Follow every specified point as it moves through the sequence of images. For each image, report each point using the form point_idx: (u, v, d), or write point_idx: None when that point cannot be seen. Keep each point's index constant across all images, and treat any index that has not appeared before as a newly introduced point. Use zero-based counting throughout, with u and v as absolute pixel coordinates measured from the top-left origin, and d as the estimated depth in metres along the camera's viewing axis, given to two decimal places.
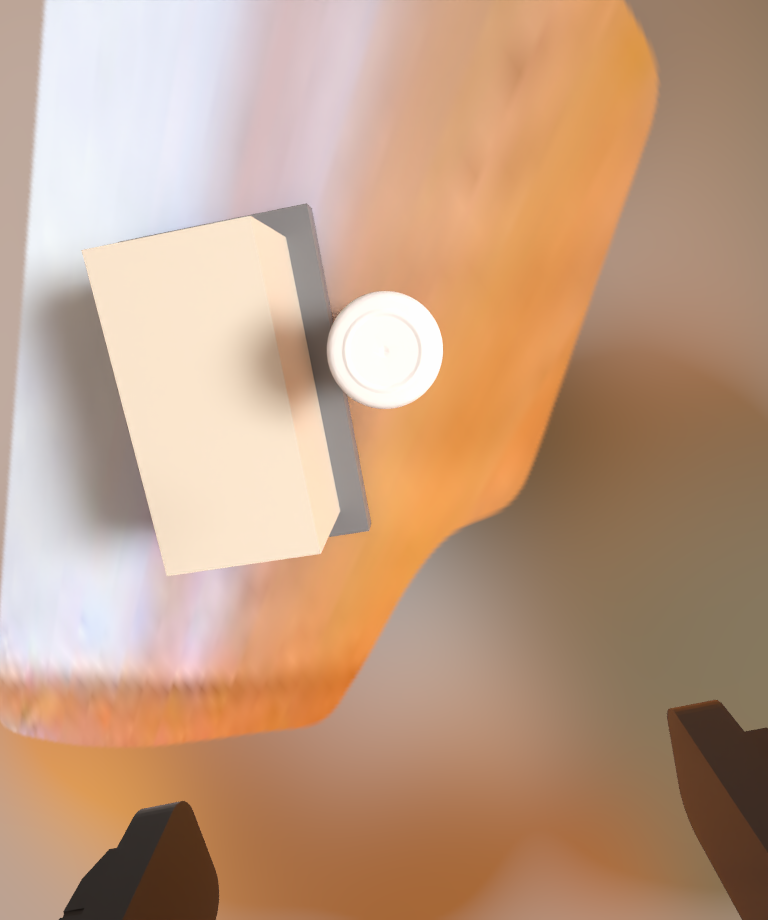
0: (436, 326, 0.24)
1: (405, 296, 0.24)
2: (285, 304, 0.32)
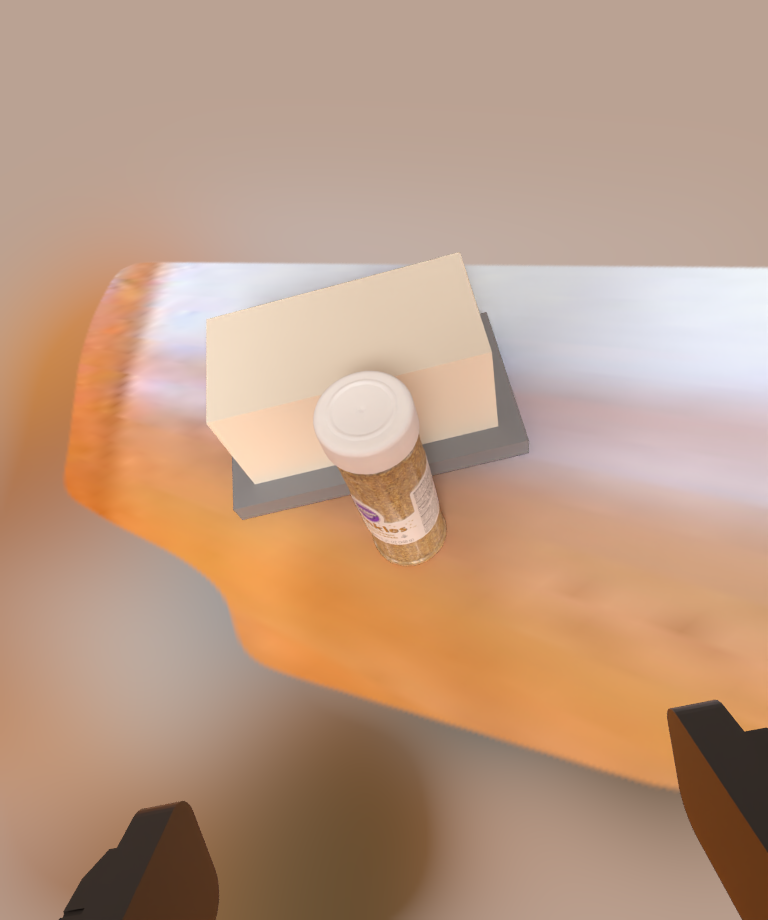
0: (382, 449, 0.26)
1: (408, 422, 0.27)
2: (431, 407, 0.37)
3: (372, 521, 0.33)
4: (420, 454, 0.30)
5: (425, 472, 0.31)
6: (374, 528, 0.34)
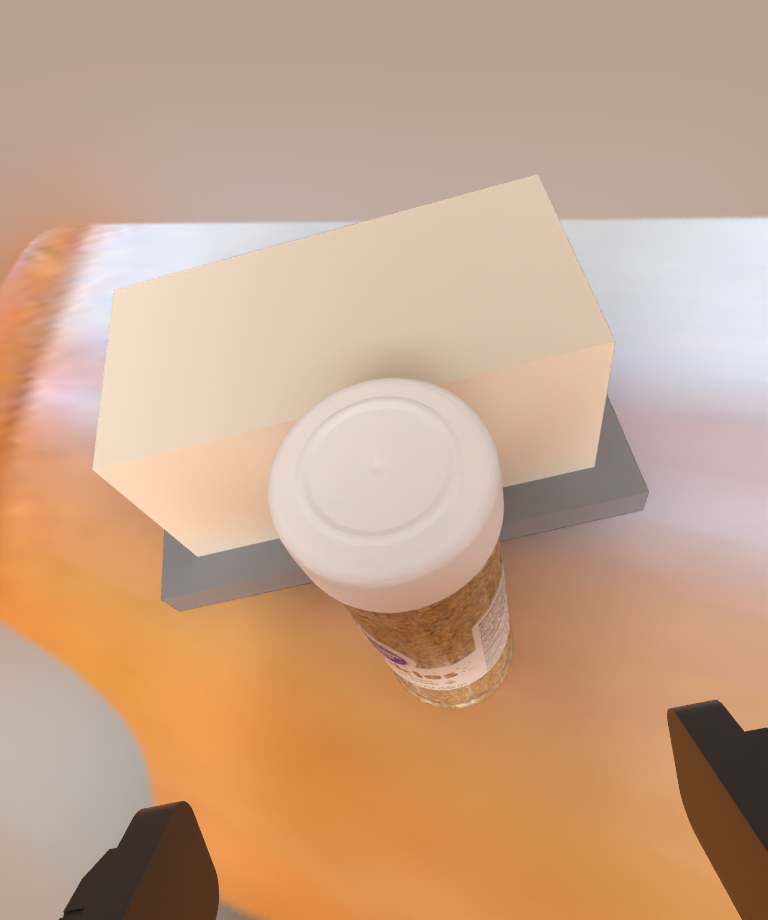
0: (429, 569, 0.11)
1: (490, 502, 0.11)
2: None
3: (392, 661, 0.17)
4: (497, 551, 0.14)
5: (501, 580, 0.15)
6: (395, 667, 0.18)
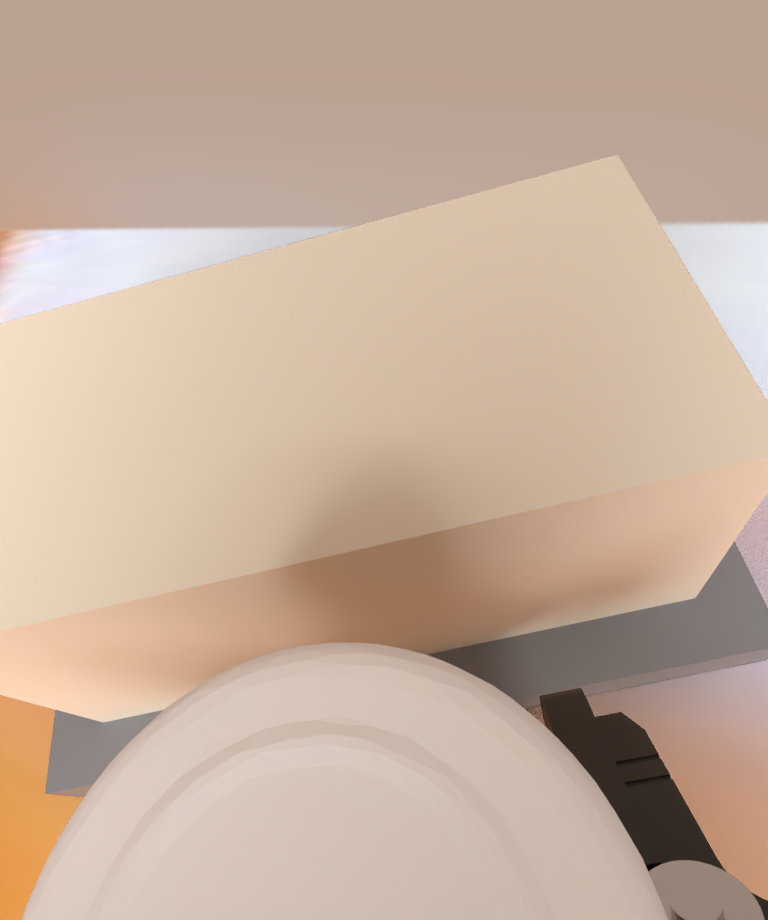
0: None
1: None
2: (549, 580, 0.13)
3: None
4: None
5: None
6: None
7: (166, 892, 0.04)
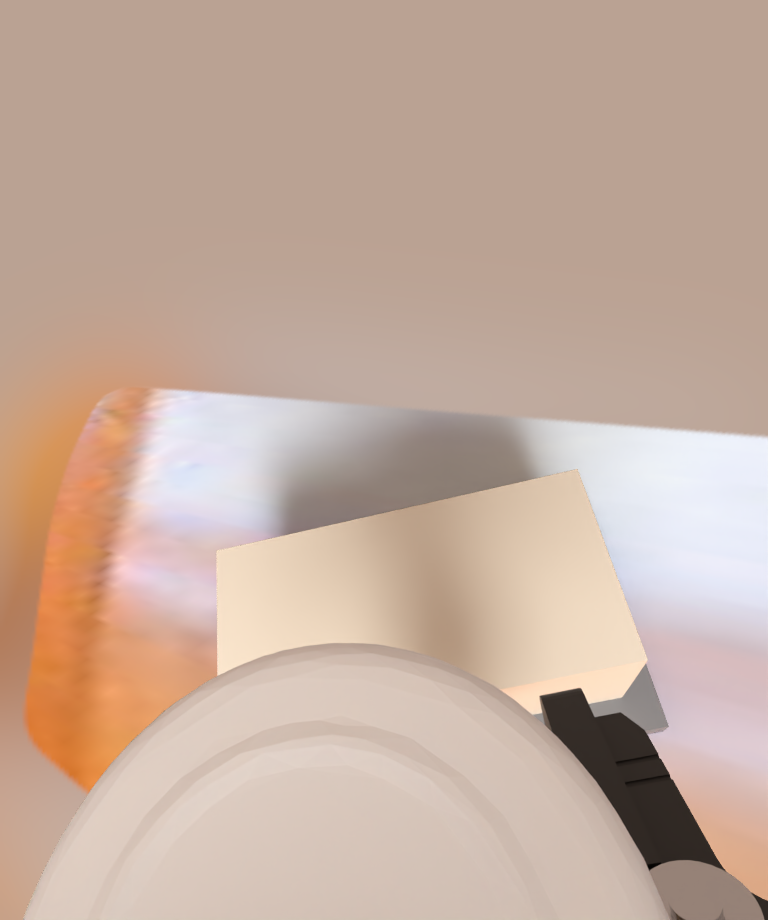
0: None
1: None
2: None
3: None
4: None
5: None
6: None
7: (168, 892, 0.04)
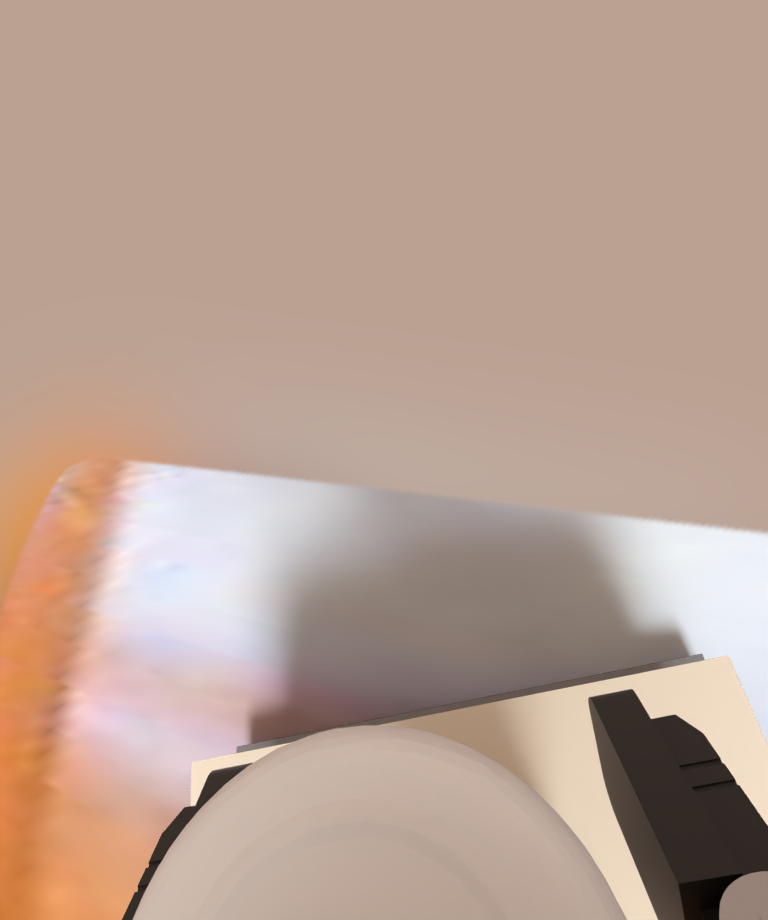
0: None
1: None
2: None
3: None
4: None
5: None
6: None
7: None
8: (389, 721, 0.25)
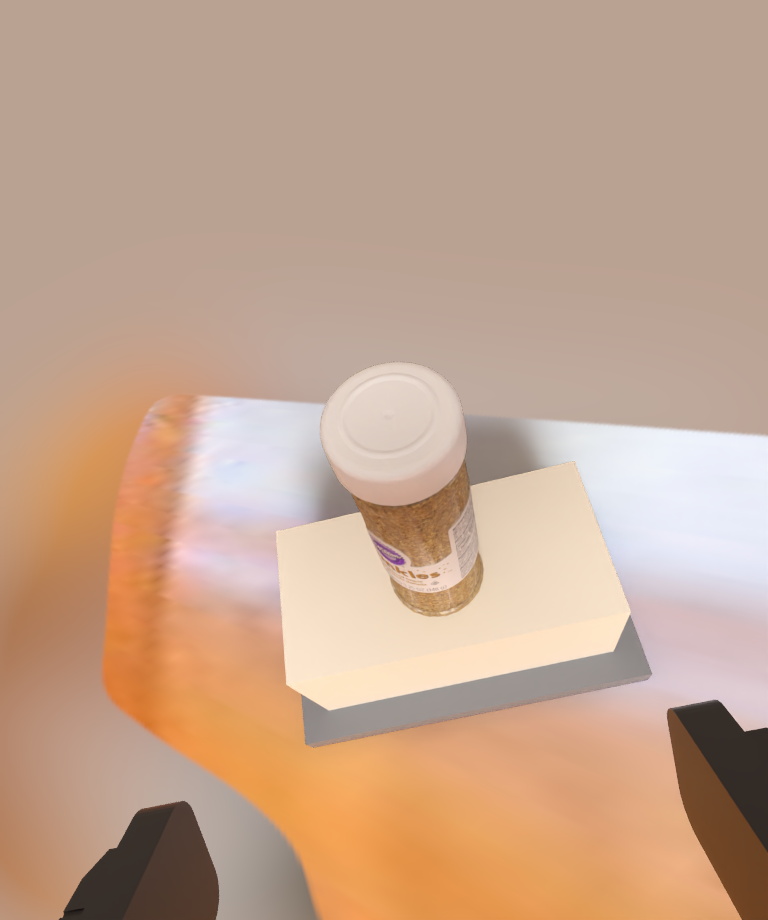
0: (419, 471, 0.18)
1: (456, 434, 0.19)
2: (545, 649, 0.31)
3: (394, 564, 0.25)
4: (464, 477, 0.22)
5: (468, 501, 0.23)
6: (396, 572, 0.26)
7: (357, 402, 0.20)
8: None
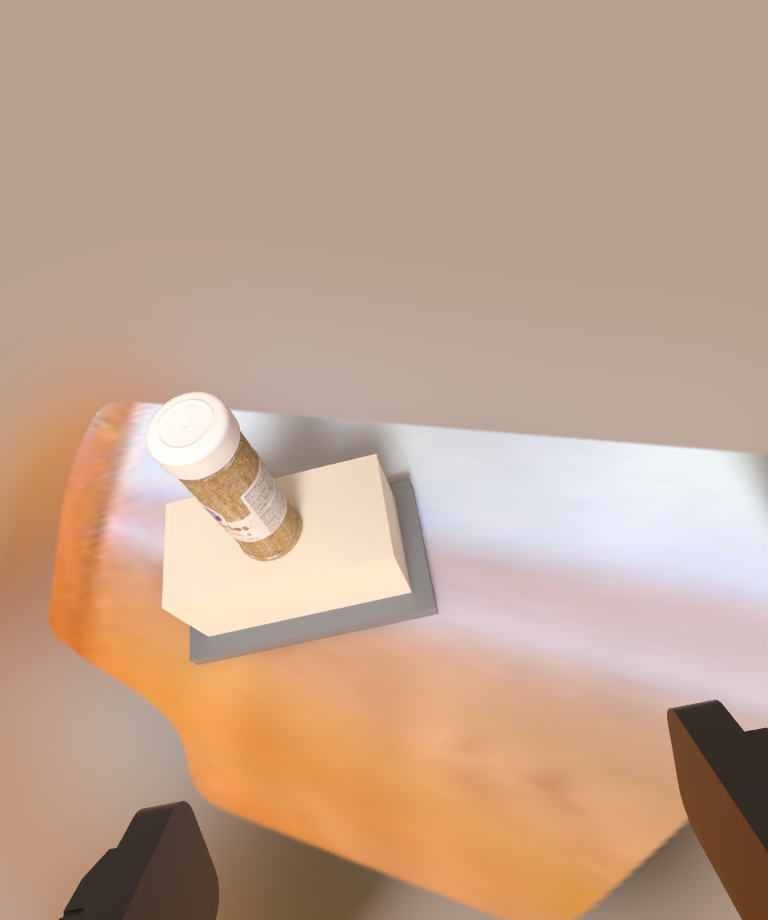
0: (196, 459, 0.31)
1: (221, 437, 0.32)
2: (350, 586, 0.44)
3: (218, 520, 0.38)
4: (247, 463, 0.35)
5: (256, 479, 0.36)
6: (223, 527, 0.38)
7: (169, 417, 0.33)
8: None
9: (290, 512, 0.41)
